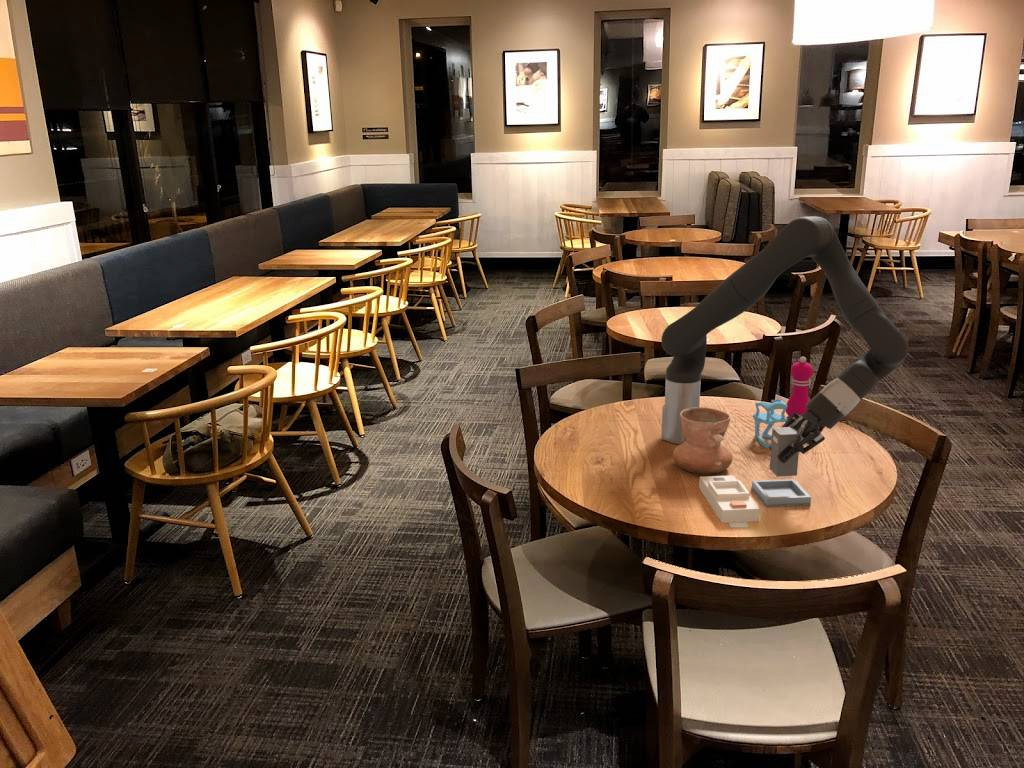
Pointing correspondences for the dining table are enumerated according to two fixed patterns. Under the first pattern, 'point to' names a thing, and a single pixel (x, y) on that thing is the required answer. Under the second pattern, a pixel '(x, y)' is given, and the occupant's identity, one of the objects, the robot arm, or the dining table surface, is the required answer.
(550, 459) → the dining table surface
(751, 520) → the white rectangular base
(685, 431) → the ceramic jug
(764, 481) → the tray
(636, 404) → the dining table surface
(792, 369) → the pepper mill
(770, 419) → the chair
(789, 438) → the block
